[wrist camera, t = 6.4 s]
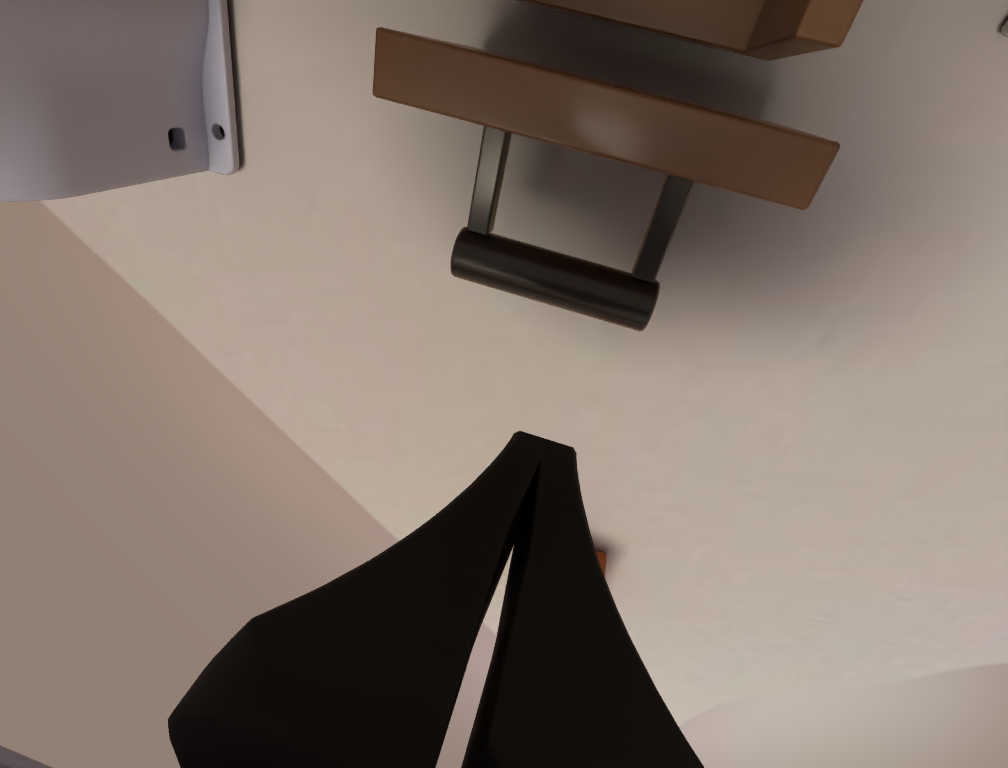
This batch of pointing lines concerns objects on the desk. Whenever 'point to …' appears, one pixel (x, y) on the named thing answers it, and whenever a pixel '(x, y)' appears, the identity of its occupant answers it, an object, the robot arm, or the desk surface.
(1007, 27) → the medicine box
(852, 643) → the desk surface
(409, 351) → the desk surface
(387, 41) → the drawer
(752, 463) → the desk surface
